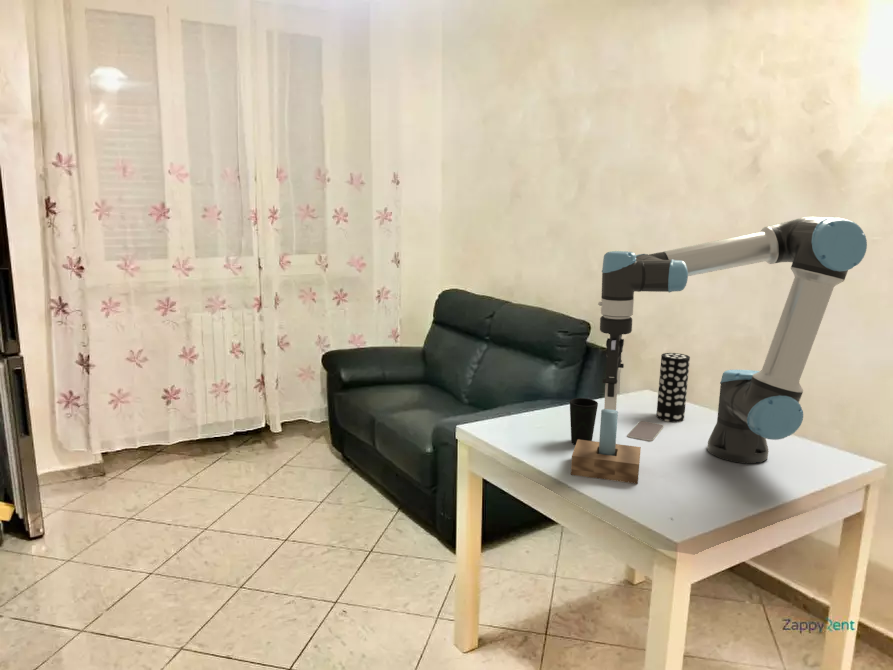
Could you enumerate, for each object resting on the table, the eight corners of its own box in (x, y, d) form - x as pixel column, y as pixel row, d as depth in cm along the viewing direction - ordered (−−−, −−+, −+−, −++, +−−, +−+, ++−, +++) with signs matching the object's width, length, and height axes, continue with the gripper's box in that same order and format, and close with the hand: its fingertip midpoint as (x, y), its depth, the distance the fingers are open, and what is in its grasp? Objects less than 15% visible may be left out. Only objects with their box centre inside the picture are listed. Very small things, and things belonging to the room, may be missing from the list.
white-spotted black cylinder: (686, 416, 210) (692, 355, 206) (680, 424, 203) (686, 360, 199) (660, 411, 214) (665, 351, 210) (653, 418, 207) (658, 356, 203)
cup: (595, 449, 181) (598, 407, 179) (567, 446, 183) (569, 405, 180) (595, 439, 189) (597, 399, 186) (567, 437, 190) (570, 397, 188)
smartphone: (626, 435, 191) (639, 420, 204) (626, 438, 191) (639, 423, 204) (652, 440, 187) (664, 424, 200) (652, 443, 187) (664, 427, 200)
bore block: (639, 465, 171) (640, 447, 170) (637, 484, 159) (639, 464, 158) (576, 457, 175) (577, 439, 174) (570, 474, 164) (571, 455, 163)
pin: (614, 462, 168) (618, 409, 166) (613, 468, 165) (617, 414, 162) (598, 460, 170) (602, 408, 167) (597, 466, 166) (600, 412, 163)
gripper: (604, 307, 172) (601, 386, 176) (595, 324, 149) (591, 414, 153) (634, 308, 170) (630, 388, 174) (630, 326, 147) (625, 418, 151)
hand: (612, 400), depth 164 cm, fingers open, 13 cm apart
